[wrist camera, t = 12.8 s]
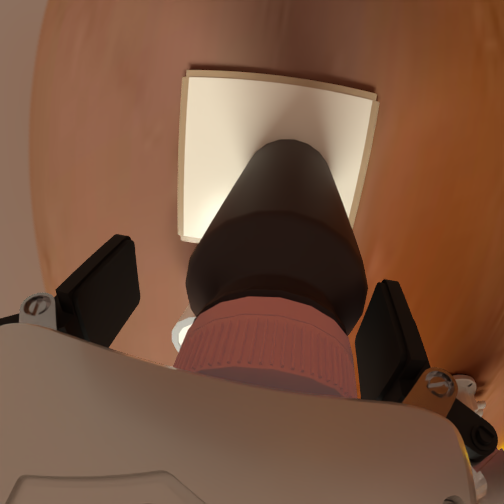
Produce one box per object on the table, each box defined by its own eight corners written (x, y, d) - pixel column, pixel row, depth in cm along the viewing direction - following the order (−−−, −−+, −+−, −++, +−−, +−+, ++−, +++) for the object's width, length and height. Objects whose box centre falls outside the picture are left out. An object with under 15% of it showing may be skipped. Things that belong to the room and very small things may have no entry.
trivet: (378, 94, 20) (381, 94, 19) (341, 261, 28) (342, 266, 27) (185, 70, 21) (182, 69, 20) (180, 236, 29) (177, 240, 28)
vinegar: (306, 123, 21) (348, 273, 4) (344, 198, 24) (413, 442, 7) (229, 162, 24) (79, 362, 7) (271, 231, 26) (223, 472, 9)
